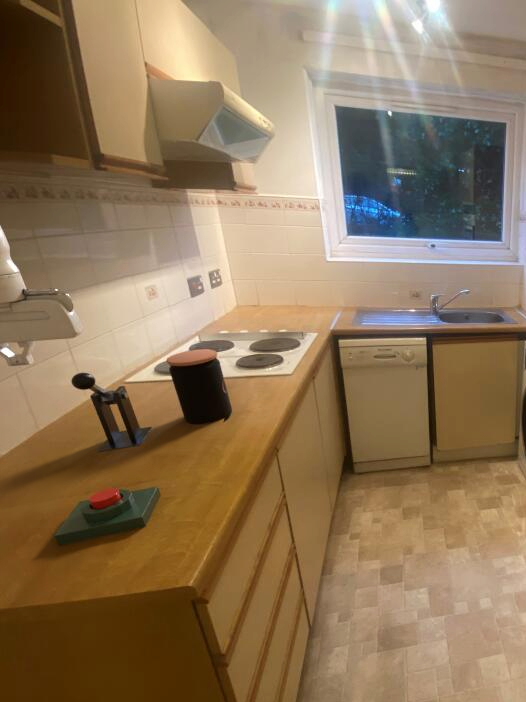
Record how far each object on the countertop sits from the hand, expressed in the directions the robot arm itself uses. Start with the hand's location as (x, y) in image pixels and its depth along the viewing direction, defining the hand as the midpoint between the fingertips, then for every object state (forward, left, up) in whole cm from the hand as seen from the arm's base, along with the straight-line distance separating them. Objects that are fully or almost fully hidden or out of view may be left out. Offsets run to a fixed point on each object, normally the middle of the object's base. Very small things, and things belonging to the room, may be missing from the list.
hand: (21, 364), depth 82 cm
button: (+12, -19, -22) cm, 32 cm away
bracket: (+5, +14, -26) cm, 30 cm away
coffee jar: (+21, +21, -26) cm, 39 cm away
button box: (+12, -19, -26) cm, 34 cm away
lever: (+5, +8, -11) cm, 15 cm away
